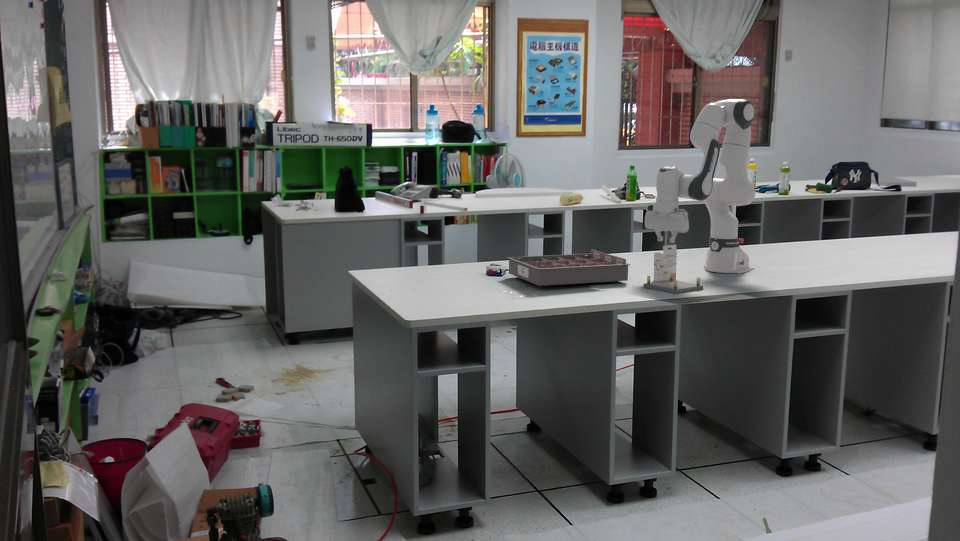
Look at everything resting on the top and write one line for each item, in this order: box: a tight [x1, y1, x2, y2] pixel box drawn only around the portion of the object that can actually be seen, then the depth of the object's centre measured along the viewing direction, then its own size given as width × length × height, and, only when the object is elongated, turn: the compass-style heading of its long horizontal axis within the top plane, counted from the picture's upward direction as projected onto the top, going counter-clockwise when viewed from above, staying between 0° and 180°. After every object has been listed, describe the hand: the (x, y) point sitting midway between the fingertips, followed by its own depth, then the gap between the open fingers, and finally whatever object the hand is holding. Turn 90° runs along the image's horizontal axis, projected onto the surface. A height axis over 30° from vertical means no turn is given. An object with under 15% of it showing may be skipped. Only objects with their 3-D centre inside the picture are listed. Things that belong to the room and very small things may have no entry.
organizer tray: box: [506, 249, 631, 287], centre depth 359 cm, size 32×40×10 cm
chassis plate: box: [642, 273, 704, 295], centre depth 342 cm, size 16×16×4 cm
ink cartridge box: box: [653, 243, 678, 282], centre depth 359 cm, size 9×5×15 cm, turn 129°
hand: (666, 241), depth 358 cm, fingers open, 5 cm apart
